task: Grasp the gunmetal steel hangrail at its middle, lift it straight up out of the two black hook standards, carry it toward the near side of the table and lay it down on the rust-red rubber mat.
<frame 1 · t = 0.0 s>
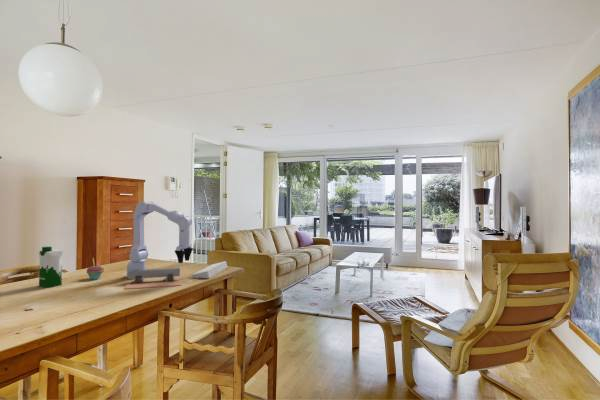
hand: (183, 261, 199), 10 cm above the table, fingers open, 7 cm apart
decorative molding: (210, 273, 220), on the table
milk carton: (50, 285, 179), on the table
mat: (154, 285, 184), on the table
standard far: (169, 280, 196), on the table
rail: (154, 276, 193), point 2 cm above the table, touching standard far, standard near
cupcake: (95, 278, 197), on the table
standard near: (138, 282, 190), on the table
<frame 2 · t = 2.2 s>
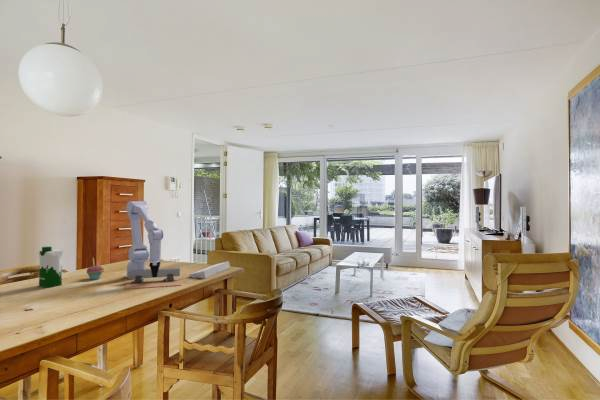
hand: (154, 276, 193), 3 cm above the table, fingers closed on rail, 4 cm apart
rail: (154, 276, 193), point 2 cm above the table, touching gripper, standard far, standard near
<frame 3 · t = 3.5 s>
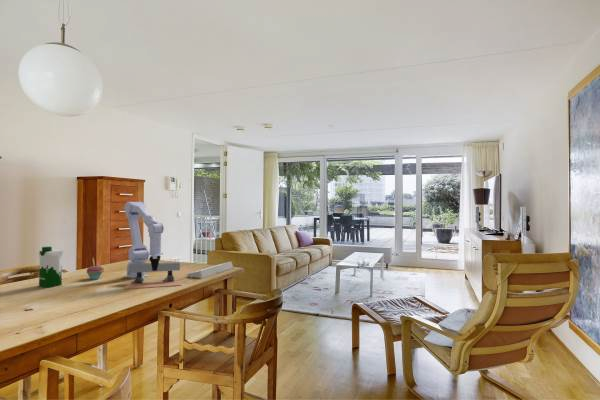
hand: (154, 269, 193), 6 cm above the table, fingers closed on rail, 4 cm apart
rail: (154, 270, 193), point 6 cm above the table, touching gripper
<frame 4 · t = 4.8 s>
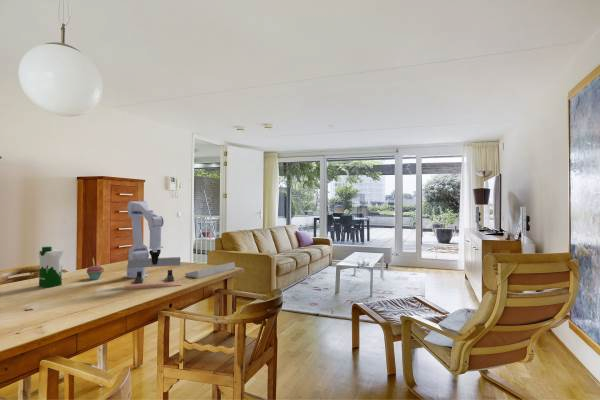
hand: (154, 263, 189), 10 cm above the table, fingers closed on rail, 4 cm apart
rail: (154, 266, 189), point 9 cm above the table, touching gripper
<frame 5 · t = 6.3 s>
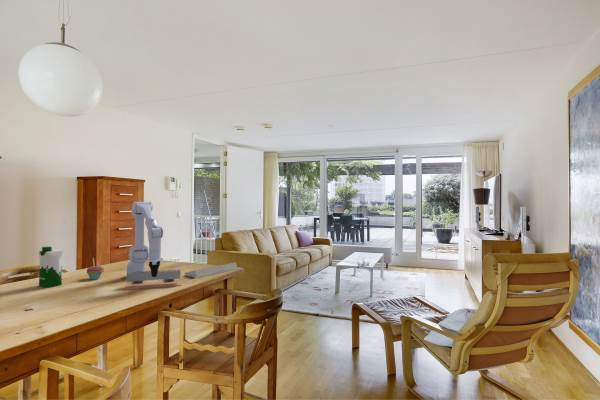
hand: (154, 276, 184), 5 cm above the table, fingers closed on rail, 4 cm apart
rail: (154, 279, 184), point 3 cm above the table, touching gripper
when the fingers open (2 cm above the table, at t = 7.3 s): rail stays where it is, resting on mat.
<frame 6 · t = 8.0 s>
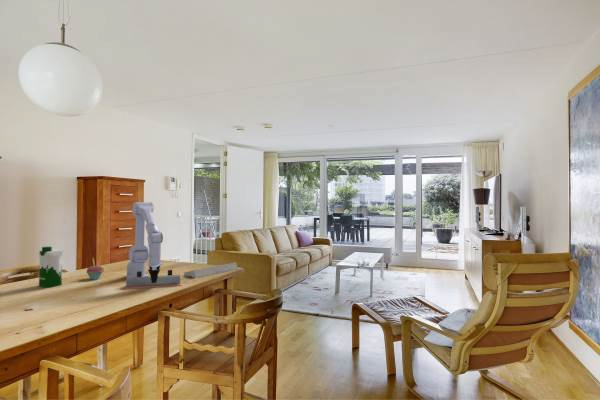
hand: (154, 281, 184), 2 cm above the table, fingers open, 7 cm apart
rail: (154, 284, 184), resting on mat
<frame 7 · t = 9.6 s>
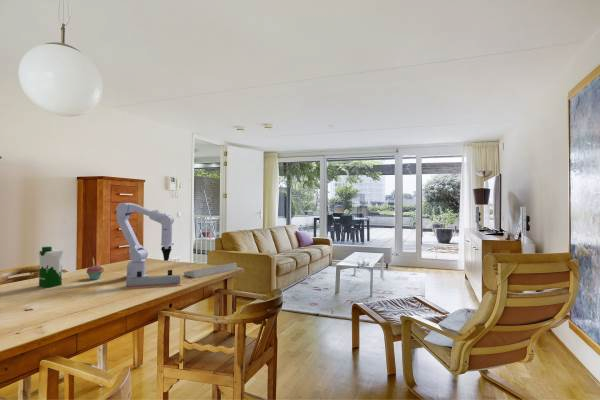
hand: (166, 259, 203), 10 cm above the table, fingers open, 7 cm apart
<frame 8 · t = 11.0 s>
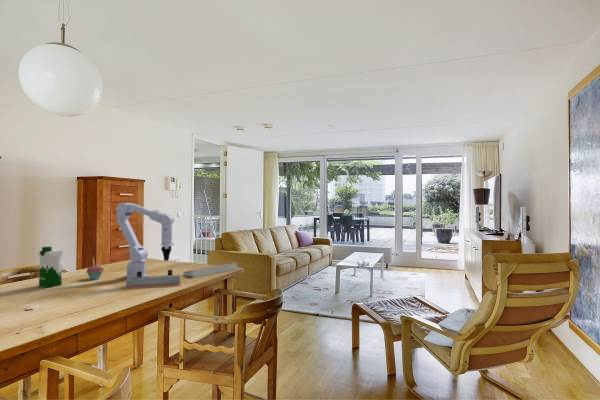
hand: (166, 259, 203), 10 cm above the table, fingers open, 7 cm apart
at the end: rail 0.1 cm from the mat (horizontally); rail resting on mat; the gripper is holding nothing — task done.
